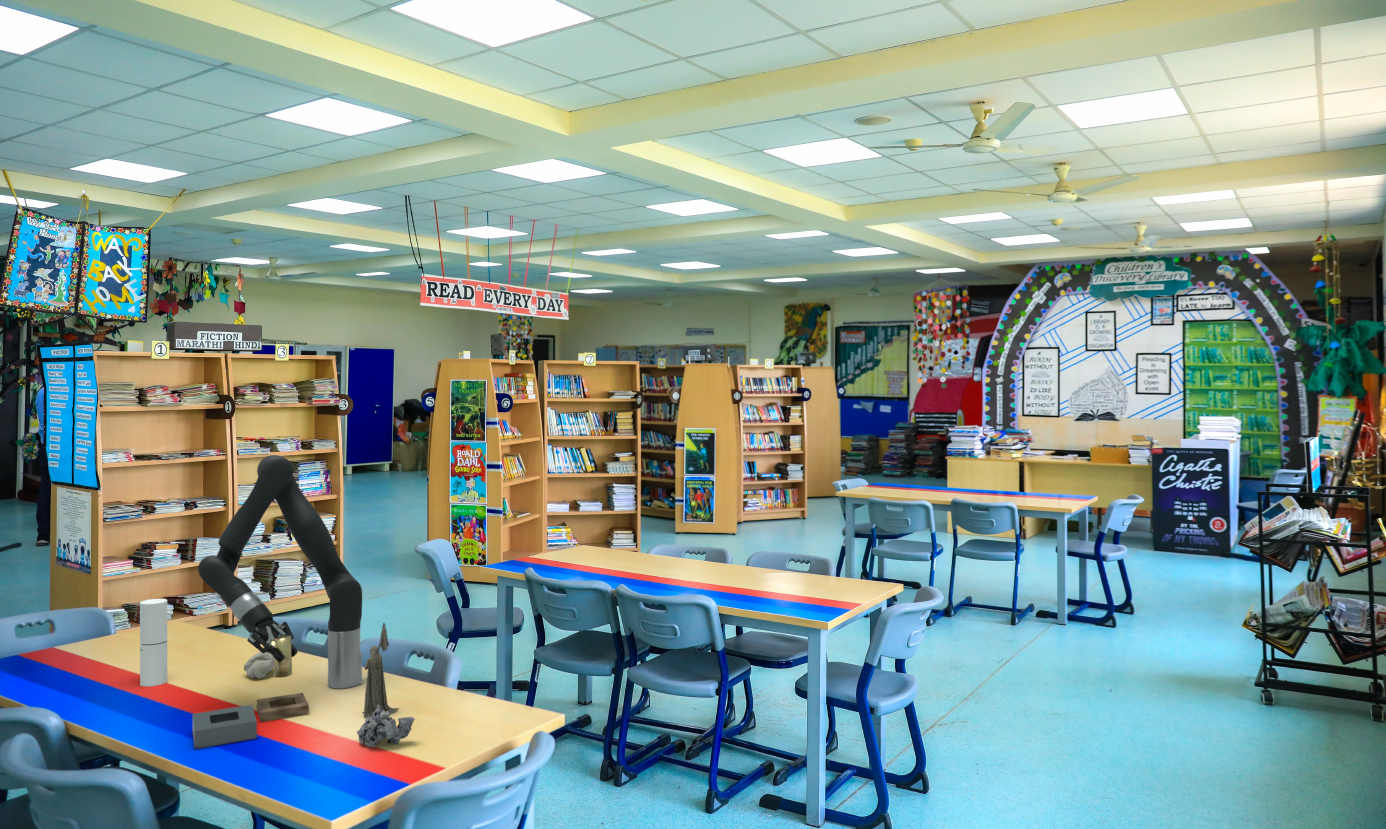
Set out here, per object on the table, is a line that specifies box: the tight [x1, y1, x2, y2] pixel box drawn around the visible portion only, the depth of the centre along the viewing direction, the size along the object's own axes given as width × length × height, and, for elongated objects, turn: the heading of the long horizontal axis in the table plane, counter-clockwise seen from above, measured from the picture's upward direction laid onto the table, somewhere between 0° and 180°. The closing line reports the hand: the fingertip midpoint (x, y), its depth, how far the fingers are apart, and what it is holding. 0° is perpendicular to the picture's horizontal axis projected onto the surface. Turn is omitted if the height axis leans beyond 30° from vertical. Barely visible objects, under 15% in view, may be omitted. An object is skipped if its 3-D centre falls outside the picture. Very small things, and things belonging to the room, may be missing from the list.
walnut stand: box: [256, 692, 310, 723], centre depth 247 cm, size 12×12×2 cm
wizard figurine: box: [362, 622, 400, 719], centre depth 247 cm, size 10×8×25 cm
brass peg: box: [273, 635, 293, 679], centre depth 247 cm, size 4×4×10 cm
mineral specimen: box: [356, 705, 416, 748], centre depth 225 cm, size 13×10×11 cm
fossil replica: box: [243, 651, 274, 680], centre depth 278 cm, size 12×8×10 cm
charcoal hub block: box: [192, 704, 258, 750], centre depth 230 cm, size 14×14×4 cm
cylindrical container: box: [139, 598, 168, 687], centre depth 270 cm, size 7×7×25 cm
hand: (288, 657), depth 246 cm, fingers closed on brass peg, 4 cm apart
